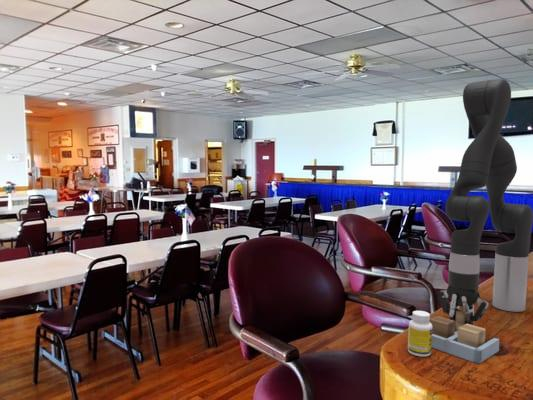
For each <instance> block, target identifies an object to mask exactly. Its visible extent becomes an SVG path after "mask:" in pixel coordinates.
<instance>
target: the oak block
mask: <svg viewBox="0 0 533 400" xmlns="http://www.w3.org/2000/svg"><path fill="white" fill-rule="evenodd" d="M486 331H487V329H486V328H484V327H481V326H476V325H474V324H473V325H470V324H465V325H463V326H461V327H459V328H458V337H457V342H459V343H462V344H465V345H468V346H471V347H474V348H478V347H480V346H481V345H483V344H485V343H486Z"/></svg>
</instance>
